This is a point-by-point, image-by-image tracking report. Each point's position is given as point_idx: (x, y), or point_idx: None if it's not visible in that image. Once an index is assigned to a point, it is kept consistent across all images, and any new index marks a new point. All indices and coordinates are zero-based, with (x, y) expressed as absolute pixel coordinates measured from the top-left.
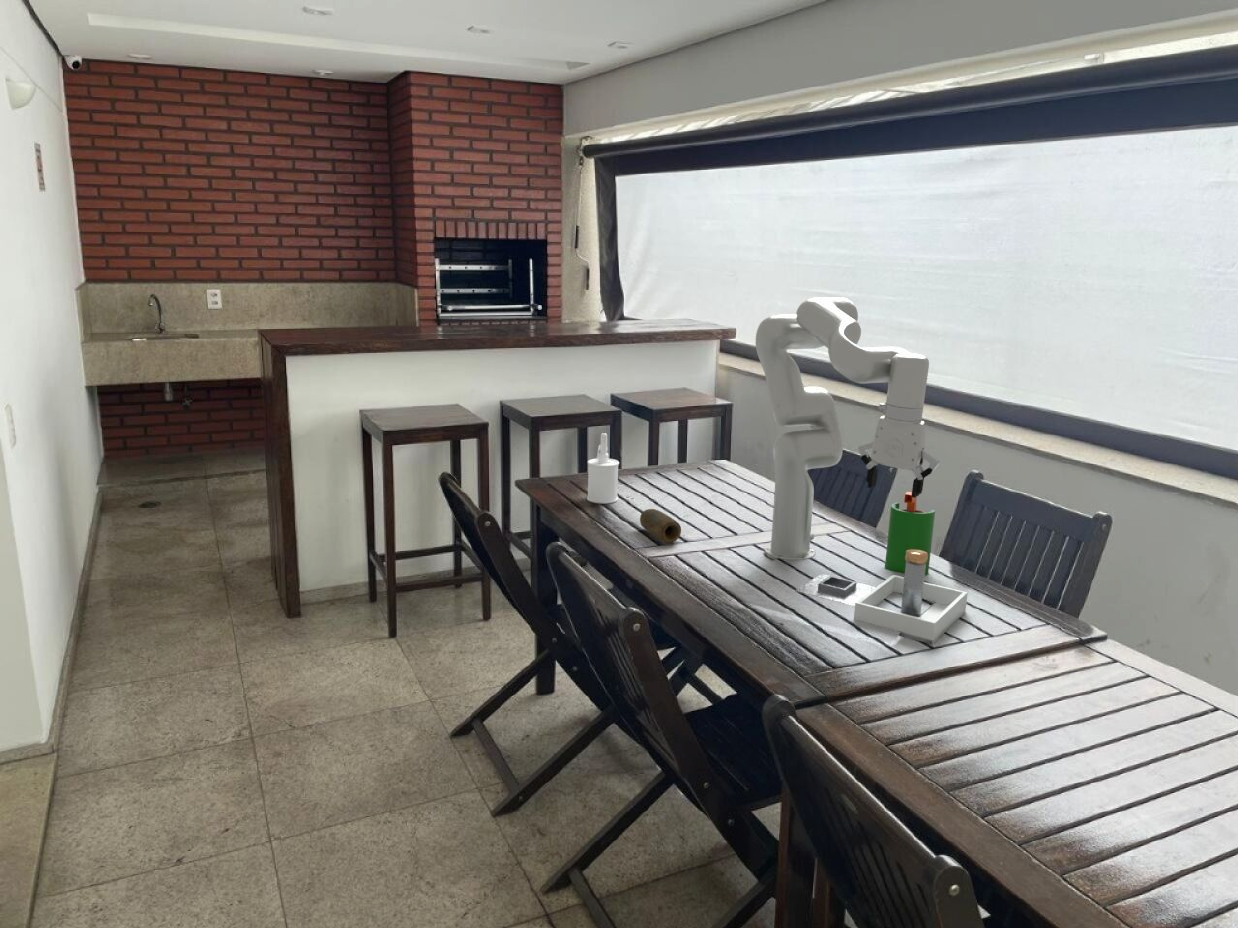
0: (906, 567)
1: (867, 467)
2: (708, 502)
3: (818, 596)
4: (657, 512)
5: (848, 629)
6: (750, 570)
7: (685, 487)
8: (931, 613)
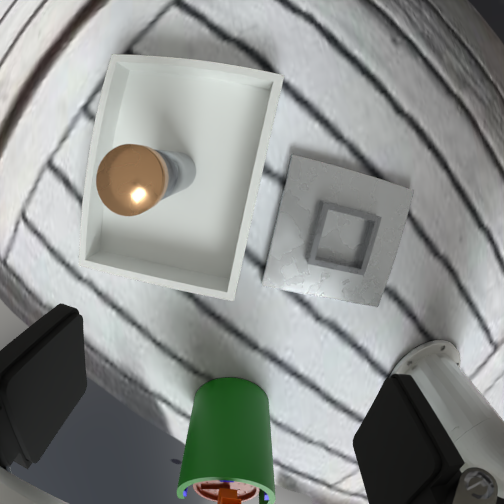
0: (166, 160)
1: (478, 479)
2: None
3: (369, 176)
4: None
5: (282, 54)
6: (478, 275)
7: None
8: None
